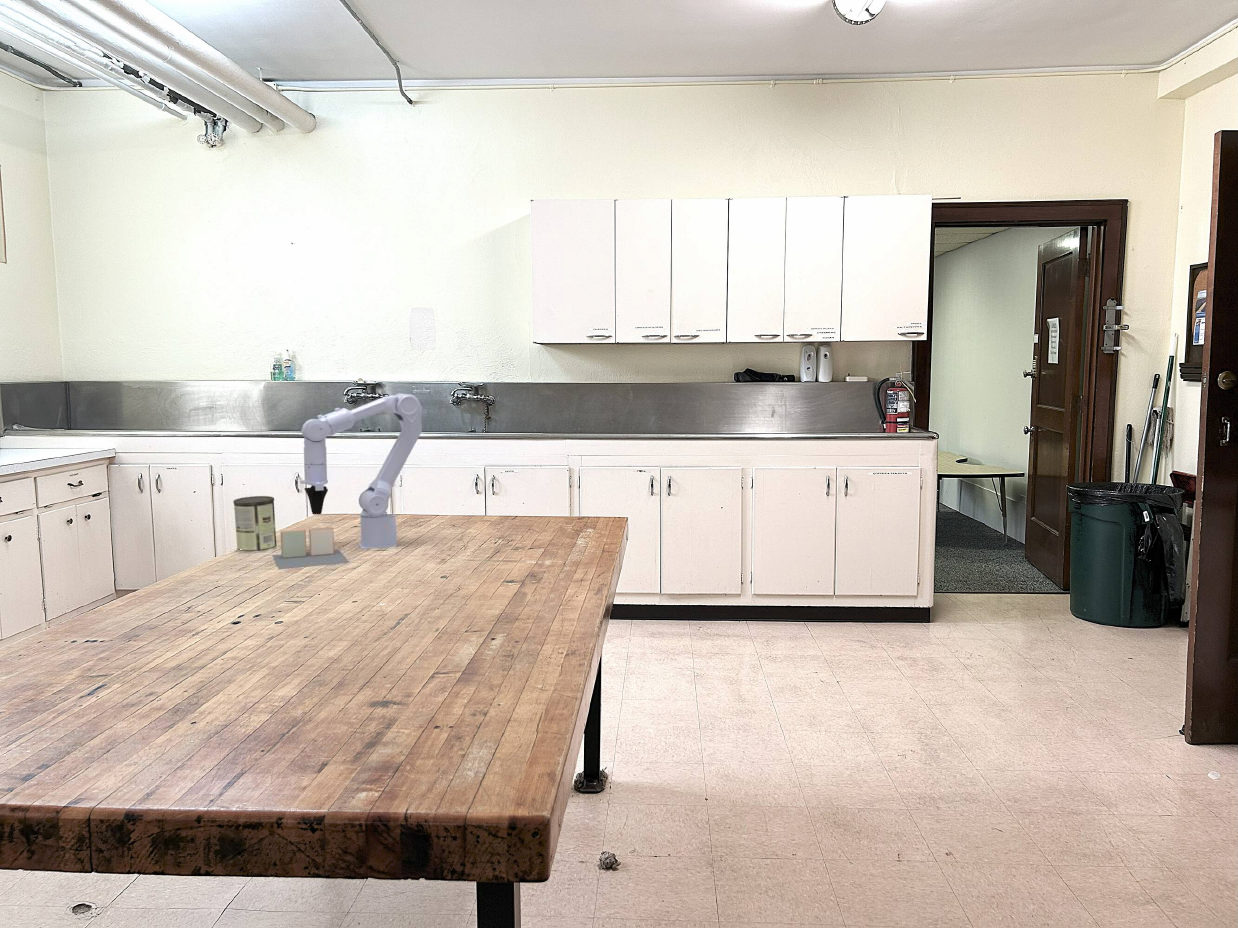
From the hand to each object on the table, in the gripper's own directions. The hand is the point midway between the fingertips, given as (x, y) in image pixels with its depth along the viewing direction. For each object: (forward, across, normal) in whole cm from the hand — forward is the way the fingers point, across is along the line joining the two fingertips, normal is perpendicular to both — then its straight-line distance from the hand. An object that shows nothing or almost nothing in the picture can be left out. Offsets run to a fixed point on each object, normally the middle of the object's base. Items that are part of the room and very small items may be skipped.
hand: (316, 513), depth 239 cm
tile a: (+10, +6, 0) cm, 12 cm away
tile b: (+10, +6, -7) cm, 14 cm away
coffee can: (+11, -9, -15) cm, 20 cm away
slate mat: (+10, +10, -3) cm, 15 cm away
